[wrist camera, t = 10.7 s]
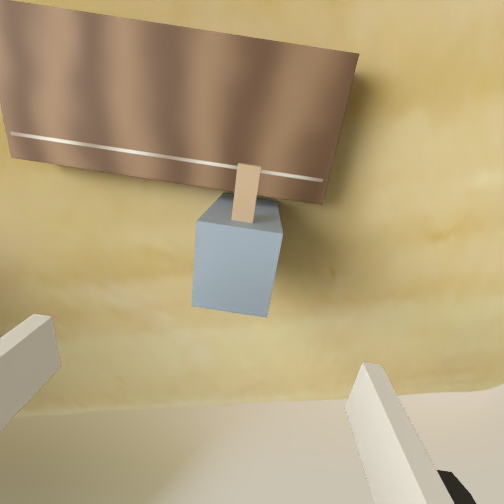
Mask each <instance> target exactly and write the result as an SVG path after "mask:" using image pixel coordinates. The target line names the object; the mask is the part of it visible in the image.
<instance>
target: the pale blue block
mask: <svg viewBox="0 0 504 504" xmlns="http://www.w3.org/2000/svg"><path fill="white" fill-rule="evenodd" d="M260 171H261V166H257V165H250V164H244V163H238V166H237V174H236V183H235V192H234V194H229V193H223V194H222V195H221V196H220V197H219V198H218V199H217V200H216V201H215V202H214V203H213V205H212V206H211V207H210V208H209V209H208V210H207V211H206V212H205V213H204V214H203V215H202V216H201V217H200V218H199V219H198V220H197V226H196V242H195V258H194V274H193V290H192V306H193V307H199V308H206V309H213V310H219V311H226V312H233V313H239V314H246V315H253V316H259V317H266V318H267V314H268V309H269V304H270V299H271V294H272V289H273V284H274V279H275V273H276V268H277V263H278V258H279V253H280V248H281V243H282V238H283V230H282V225H281V219H280V214H279V209H278V203H277V201H275V200H268V199H262V198H257V191H258V185H259V178H260Z"/></svg>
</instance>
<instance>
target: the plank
mask: <svg viewBox="0 0 504 504" xmlns="http://www.w3.org/2000/svg"><path fill="white" fill-rule="evenodd" d="M358 57H359V54H357V53H350V52H343V51H337V50H330V49H324V48H317V47H311V46H304V45H298V44H291V43H285V42H278V41H272V40H265V39H259V38H252V37H246V36H239V35H233V34H226V33H220V32H213V31H206V30H200V29H193V28H187V27H180V26H174V25H167V24H161V23H154V22H148V21H141V20H135V19H128V18H122V17H115V16H109V15H102V14H96V13H89V12H83V11H76V10H69V9H63V8H56V7H50V6H43V5H37V4H30V3H24V2H17V1H11V0H0V104H1V109H2V114H3V119H4V124H5V129H6V134H7V139H8V144H9V149H10V154H11V158H17V159H23V160H30V161H37V162H43V163H50V164H56V165H63V166H69V167H76V168H83V169H89V170H96V171H102V172H109V173H116V174H122V175H129V176H135V177H142V178H149V179H155V180H162V181H168V182H175V183H182V184H188V185H195V186H201V187H208V188H215V189H221V190H228V191H234V192H235V183H236V174H237V166H238V163H244V164H250V165H257V166H261V171H260V178H259V185H258V191H257V195H261V196H267V197H274V198H280V199H287V200H294V201H300V202H307V203H313V204H320V205H322V204H323V199H324V195H325V191H326V187H327V183H328V179H329V175H330V171H331V167H332V163H333V159H334V155H335V150H336V146H337V142H338V138H339V134H340V130H341V126H342V122H343V118H344V114H345V110H346V106H347V101H348V97H349V93H350V89H351V85H352V81H353V77H354V73H355V69H356V65H357V61H358Z"/></svg>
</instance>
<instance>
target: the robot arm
mask: <svg viewBox="0 0 504 504" xmlns="http://www.w3.org/2000/svg"><path fill="white" fill-rule="evenodd" d="M60 367H61V363H60V357H59V352H58V346H57V341H56V335H55V330H54V324H53V319H52V316H46V315H39V314H33V315H31V316H30V317H29V318H27V319H26V320H24V321H23V322H22V323H20V324H19V325H17V326H16V327H15V328H13V329H12V330H10V331H9V332H8V333H6V334H5V335H3V336H2V337H1V338H0V431H1V430H2V429H3V427H5V425H6V424H7V423H8V422H9V421H10V420H11V419H12V418H13V417H14V416H15V415H16V414H17V413H18V412H19V411H20V409H21V408H22V407H23V406H24V405H25V404H26V403H27V402H28V401H29V400H30V399H31V398H32V397H33V396H34V395H35V393H36V392H37V391H38V390H39V389H40V388H41V387H42V386H43V385H44V384H45V383H46V382H47V381H48V380H49V379H50V377H51V376H52V375H53V374H54V373H55V372H56V371H57V370H58V369H59V368H60ZM345 409H346V413H347V416H348V419H349V423H350V426H351V429H352V432H353V436H354V439H355V442H356V446H357V449H358V452H359V455H360V459H361V462H362V465H363V468H364V472H365V475H366V479H367V482H368V485H369V488H370V492H371V495H372V498H373V502H374V504H476V503H475V501H474V499H473V497H472V496H471V494H470V493H469V492H468V490H467V489H466V488H465V487H464V486H463V485H462V484H461V482H460V481H459V480H458V479H457V478H456V477H455V476H454V474H453V473H452V472H447V471H440V470H436V468H435V466H434V464H433V463H432V460H431V458H430V457H429V455H428V453H427V451H426V449H425V447H424V445H423V443H422V441H421V440H420V438H419V436H418V434H417V432H416V430H415V428H414V426H413V425H412V423H411V421H410V419H409V417H408V416H407V413H406V411H405V409H404V408H403V406H402V404H401V402H400V400H399V398H398V396H397V394H396V392H395V390H394V389H393V387H392V385H391V383H390V381H389V379H388V377H387V375H386V373H385V372H384V370H383V368H382V366H381V365H380V364H373V363H366V362H363V363H362V365H361V368H360V370H359V373H358V376H357V378H356V381H355V383H354V386H353V388H352V391H351V393H350V396H349V398H348V401H347V403H346V406H345Z"/></svg>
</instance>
